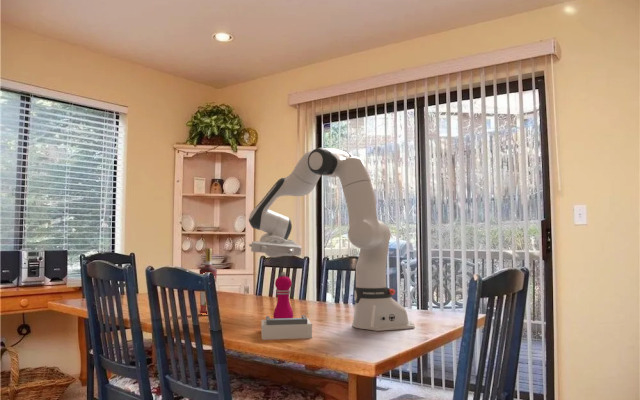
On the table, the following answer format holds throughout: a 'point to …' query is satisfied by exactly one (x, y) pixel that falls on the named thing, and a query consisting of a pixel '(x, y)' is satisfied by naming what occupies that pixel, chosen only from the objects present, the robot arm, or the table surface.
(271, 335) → the dock
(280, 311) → the pepper mill
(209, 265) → the liquor
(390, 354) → the table surface
